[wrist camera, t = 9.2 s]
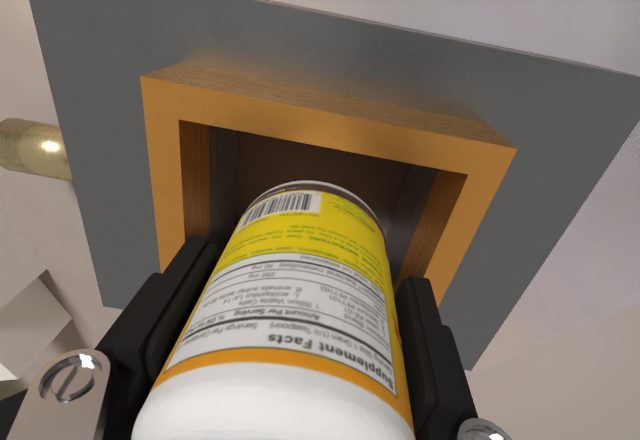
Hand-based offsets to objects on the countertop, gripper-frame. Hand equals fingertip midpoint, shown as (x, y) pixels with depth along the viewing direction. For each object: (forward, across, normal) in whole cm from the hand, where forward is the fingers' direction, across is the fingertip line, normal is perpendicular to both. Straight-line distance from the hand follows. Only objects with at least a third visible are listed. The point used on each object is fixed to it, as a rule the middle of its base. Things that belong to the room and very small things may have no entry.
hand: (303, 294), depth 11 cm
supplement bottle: (+3, 0, 0) cm, 3 cm away
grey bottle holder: (+8, +2, 0) cm, 9 cm away
